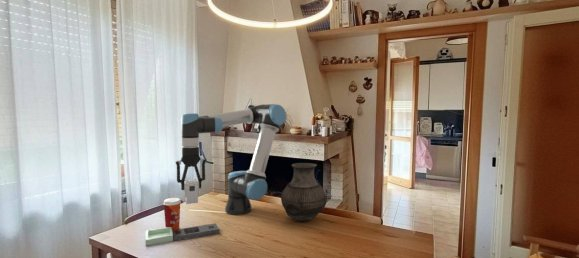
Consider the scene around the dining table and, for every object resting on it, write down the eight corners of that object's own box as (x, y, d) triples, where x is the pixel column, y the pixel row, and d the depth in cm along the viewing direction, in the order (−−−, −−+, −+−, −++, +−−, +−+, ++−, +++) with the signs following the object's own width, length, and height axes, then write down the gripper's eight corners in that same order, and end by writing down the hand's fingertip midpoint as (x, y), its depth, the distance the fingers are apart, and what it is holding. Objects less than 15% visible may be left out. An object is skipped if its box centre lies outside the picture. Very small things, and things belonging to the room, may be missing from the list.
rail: (215, 227, 146) (215, 223, 146) (219, 233, 138) (219, 228, 138) (173, 234, 137) (172, 229, 137) (174, 241, 130) (174, 236, 130)
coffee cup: (175, 234, 138) (174, 203, 137) (159, 232, 139) (159, 201, 138) (184, 227, 146) (184, 197, 145) (170, 225, 147) (169, 196, 147)
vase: (321, 231, 141) (321, 170, 139) (273, 225, 149) (274, 167, 147) (330, 214, 165) (331, 162, 163) (289, 209, 172) (289, 159, 170)
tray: (171, 231, 140) (171, 226, 140) (173, 240, 130) (172, 235, 130) (145, 235, 135) (145, 230, 135) (145, 245, 125) (145, 239, 125)
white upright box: (196, 199, 139) (196, 179, 139) (198, 202, 135) (197, 181, 134) (185, 201, 137) (185, 180, 137) (186, 204, 133) (186, 182, 132)
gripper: (209, 144, 142) (209, 191, 143) (169, 146, 134) (170, 196, 135) (211, 146, 135) (212, 195, 136) (170, 148, 127) (171, 200, 129)
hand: (191, 195), depth 136 cm, fingers closed on white upright box, 5 cm apart
